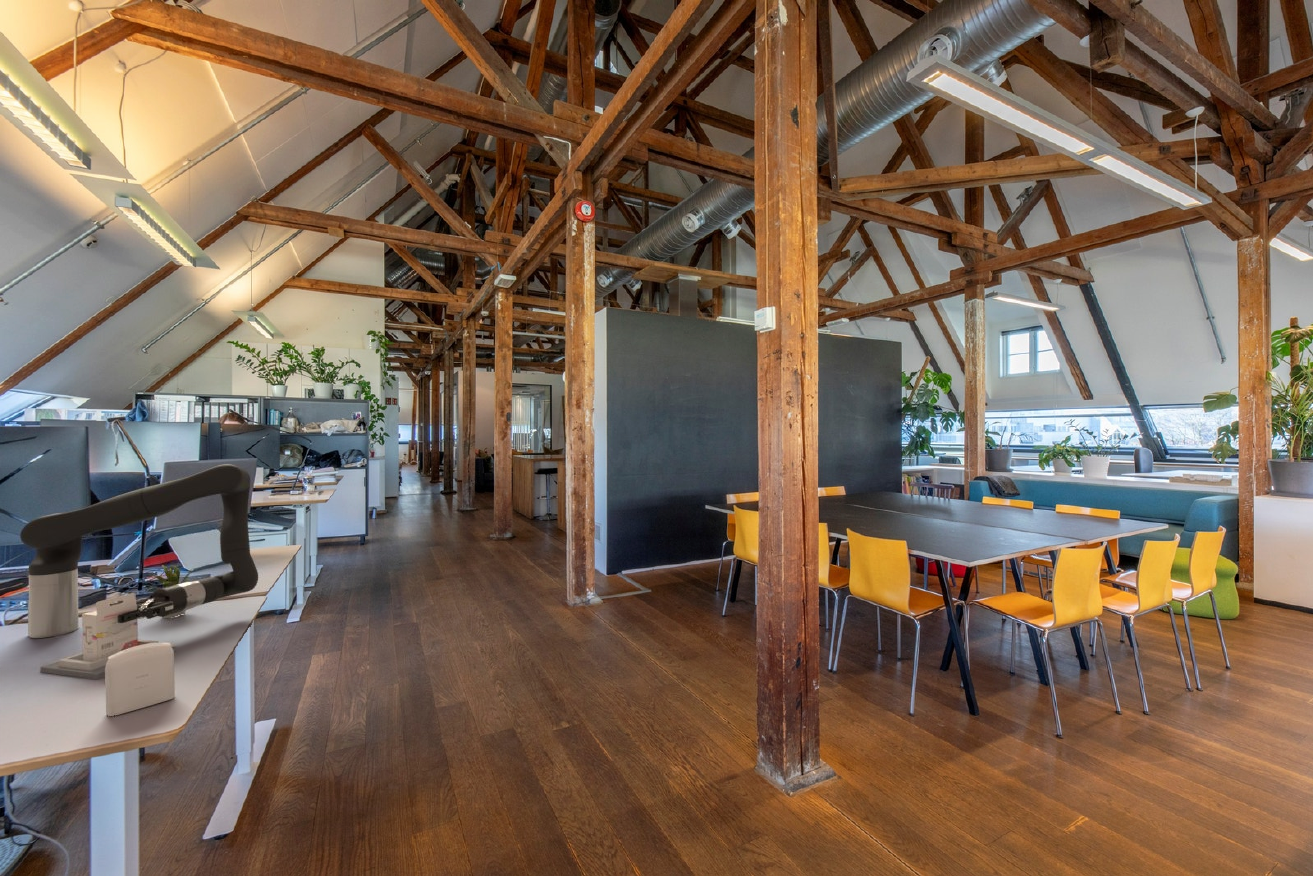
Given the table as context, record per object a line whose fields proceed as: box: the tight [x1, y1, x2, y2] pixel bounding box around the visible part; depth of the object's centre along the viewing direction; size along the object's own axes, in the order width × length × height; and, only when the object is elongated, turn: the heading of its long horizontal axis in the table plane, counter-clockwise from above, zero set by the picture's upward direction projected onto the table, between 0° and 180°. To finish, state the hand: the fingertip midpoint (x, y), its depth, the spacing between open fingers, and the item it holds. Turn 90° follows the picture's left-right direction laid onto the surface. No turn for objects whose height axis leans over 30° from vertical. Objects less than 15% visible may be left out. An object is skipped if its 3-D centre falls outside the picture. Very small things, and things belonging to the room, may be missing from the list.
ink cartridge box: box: [81, 592, 139, 662], centre depth 132 cm, size 9×5×15 cm, turn 168°
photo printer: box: [104, 642, 176, 717], centre depth 110 cm, size 10×4×12 cm, turn 140°
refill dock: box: [40, 638, 176, 680], centre depth 132 cm, size 18×16×3 cm
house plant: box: [141, 563, 199, 619], centre depth 165 cm, size 14×14×16 cm
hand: (105, 617), depth 131 cm, fingers open, 8 cm apart
